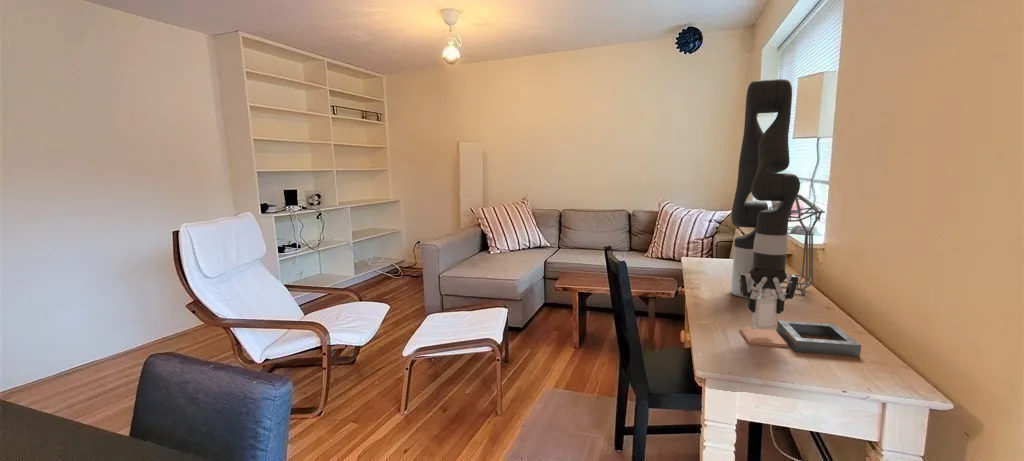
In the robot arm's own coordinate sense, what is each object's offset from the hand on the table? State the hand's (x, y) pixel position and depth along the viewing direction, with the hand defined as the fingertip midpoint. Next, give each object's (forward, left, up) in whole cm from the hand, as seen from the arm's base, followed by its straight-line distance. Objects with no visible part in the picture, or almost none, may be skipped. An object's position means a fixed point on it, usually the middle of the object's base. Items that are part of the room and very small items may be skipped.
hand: (764, 311), depth 117 cm
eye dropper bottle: (0, 0, -4) cm, 4 cm away
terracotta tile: (0, 0, -8) cm, 8 cm away
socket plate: (0, +13, -8) cm, 15 cm away
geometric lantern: (-48, +22, -8) cm, 53 cm away
